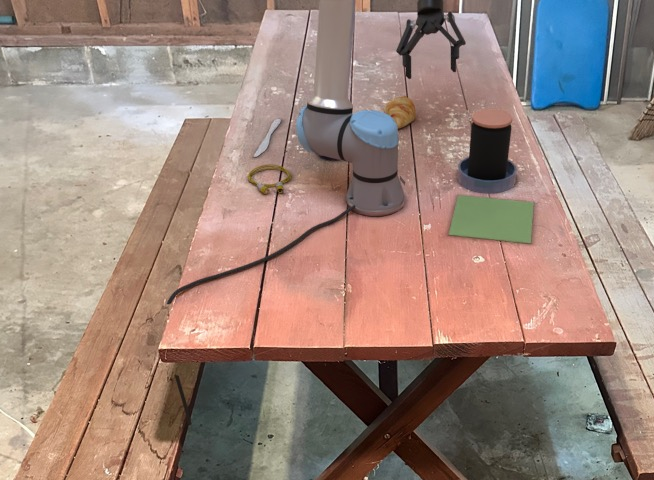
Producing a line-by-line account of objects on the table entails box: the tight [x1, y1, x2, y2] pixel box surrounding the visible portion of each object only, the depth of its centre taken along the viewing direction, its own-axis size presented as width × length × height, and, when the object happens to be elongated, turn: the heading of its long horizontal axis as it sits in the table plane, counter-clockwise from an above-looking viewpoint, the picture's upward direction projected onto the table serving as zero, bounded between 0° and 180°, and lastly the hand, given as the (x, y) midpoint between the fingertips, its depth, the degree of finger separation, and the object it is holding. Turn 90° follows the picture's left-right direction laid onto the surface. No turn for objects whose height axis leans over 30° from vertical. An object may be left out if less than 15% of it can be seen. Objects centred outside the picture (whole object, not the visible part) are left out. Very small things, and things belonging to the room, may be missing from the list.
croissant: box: [383, 96, 416, 129], centre depth 226 cm, size 21×10×8 cm, turn 173°
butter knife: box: [253, 118, 282, 158], centre depth 216 cm, size 1×27×3 cm
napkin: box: [448, 194, 535, 245], centre depth 178 cm, size 20×20×1 cm
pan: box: [457, 156, 518, 194], centre depth 194 cm, size 16×16×4 cm
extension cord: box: [247, 163, 292, 195], centre depth 194 cm, size 12×16×2 cm
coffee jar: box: [468, 108, 513, 180], centre depth 189 cm, size 11×11×18 cm
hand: (430, 74), depth 200 cm, fingers open, 13 cm apart
